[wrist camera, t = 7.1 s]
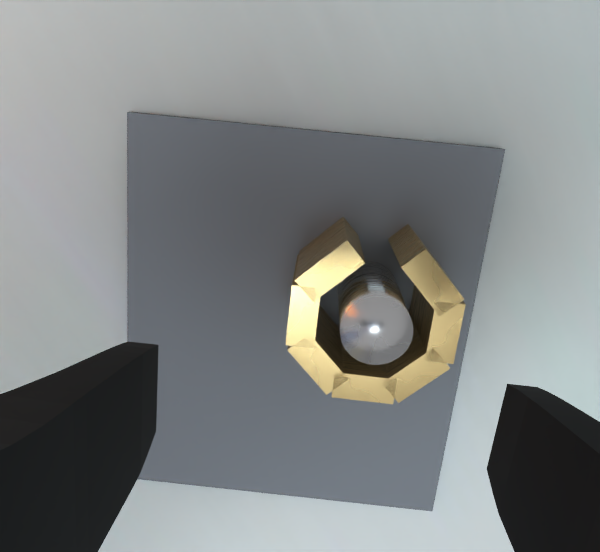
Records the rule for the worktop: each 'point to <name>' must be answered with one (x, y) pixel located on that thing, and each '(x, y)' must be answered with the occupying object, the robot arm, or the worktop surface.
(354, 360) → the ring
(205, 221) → the mat
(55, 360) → the worktop surface
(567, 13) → the worktop surface
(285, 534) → the worktop surface
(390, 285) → the piston post
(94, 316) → the worktop surface
